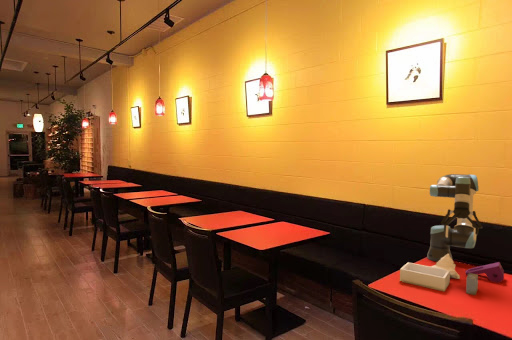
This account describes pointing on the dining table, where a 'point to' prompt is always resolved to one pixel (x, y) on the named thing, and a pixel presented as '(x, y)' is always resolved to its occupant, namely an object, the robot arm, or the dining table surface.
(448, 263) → the cream faceted chunk
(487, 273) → the mounting bracket
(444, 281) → the cream rectangular tray
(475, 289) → the brushed metal block
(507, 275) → the dining table surface
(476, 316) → the dining table surface
